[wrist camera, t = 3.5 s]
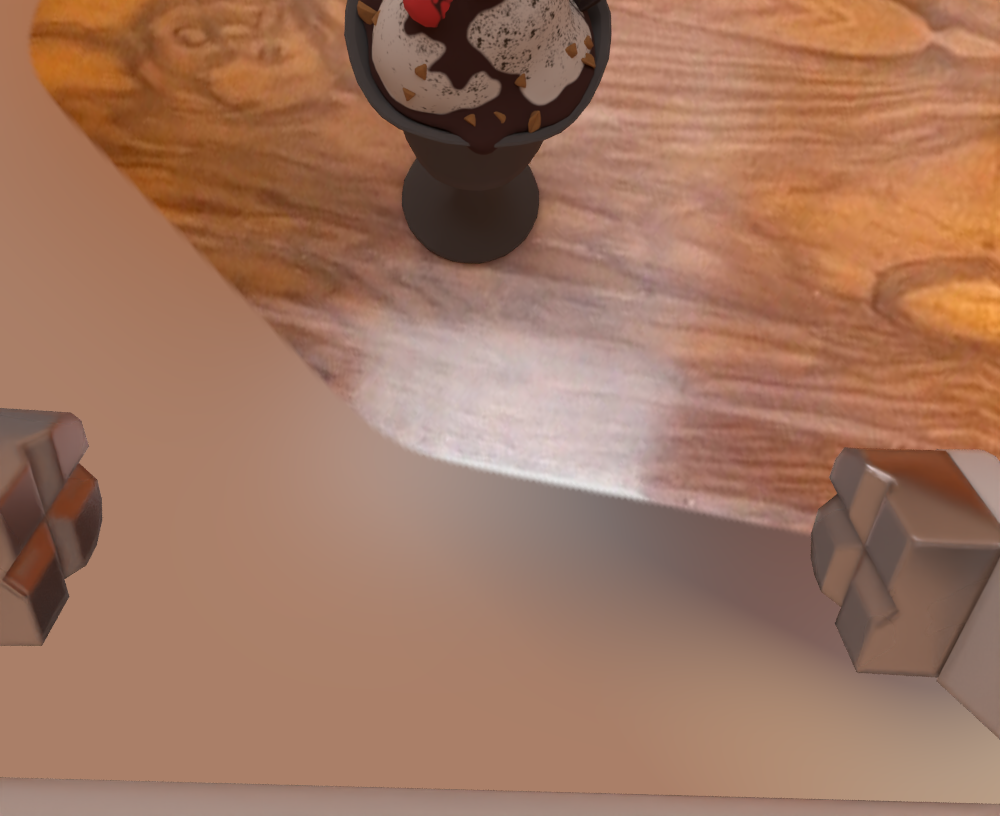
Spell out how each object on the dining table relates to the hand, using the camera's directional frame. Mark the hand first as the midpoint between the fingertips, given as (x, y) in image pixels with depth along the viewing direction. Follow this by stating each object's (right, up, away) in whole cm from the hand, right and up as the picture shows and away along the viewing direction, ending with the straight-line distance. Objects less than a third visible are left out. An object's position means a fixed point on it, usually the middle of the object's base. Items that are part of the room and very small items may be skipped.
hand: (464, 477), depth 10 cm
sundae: (-1, +8, +22) cm, 24 cm away
